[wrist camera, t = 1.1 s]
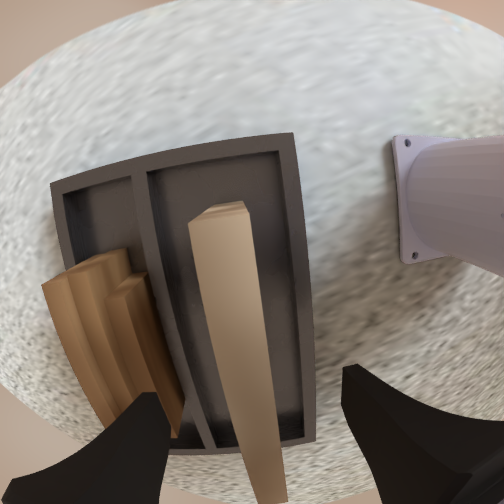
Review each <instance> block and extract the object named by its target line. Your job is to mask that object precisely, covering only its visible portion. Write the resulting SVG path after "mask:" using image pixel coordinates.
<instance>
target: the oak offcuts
mask: <svg viewBox="0 0 504 504" xmlns="http://www.w3.org/2000/svg"><path fill="white" fill-rule="evenodd" d="M41 286H42V289H43V292H44V296H45V299H46V302H47V305H48V308H49V311H50V314H51V317H52V320H53V322H54V325H55V328H56V330H57V333H58V336H59V338H60V341H61V343H62V346H63V348H64V350H65V353H66V355H67V357H68V360H69V362H70V364H71V366H72V368H73V371H74V373H75V375H76V377H77V379H78V381H79V383H80V385H81V387H82V389H83V391H84V393H85V395H86V396H87V398H88V400H89V402H90V404H91V406H92V407H93V409H94V411H95V413H96V414H97V416H98V418H99V419H100V421H101V423H102V424H103V426H104V428H105V429H106V428H107V427H108V426H109V425H111V424H112V423H113V422H114V421H115V420H116V419H117V418H118V417H119V416H120V415H121V414H122V413H123V412H124V411H125V409H126V408H127V407H128V406H129V405H130V404H131V403H132V402H133V401H134V400H135V399H136V398H137V397H138V396H139V395H140V394H141V393H142V392H157V395H158V397H159V399H160V402H161V404H162V406H163V409H164V411H165V413H166V415H167V418H168V420H169V422H170V424H171V438H178V434H179V429H180V424H181V419H182V414H183V409H184V404H185V400H186V398H185V395H184V393H183V390H182V387H181V384H180V381H179V378H178V375H177V372H176V369H175V366H174V363H173V360H172V357H171V354H170V351H169V347H168V344H167V341H166V337H165V334H164V331H163V327H162V324H161V320H160V316H159V313H158V309H157V305H156V301H155V297H154V293H153V289H152V285H151V281H150V277H149V272H148V271H147V272H140V273H133V274H132V270H131V265H130V261H129V257H128V252H127V248H123V249H117V250H111V251H109V252H107V253H104V254H99V255H94V256H92V257H91V258H89V259H87V260H85V261H83V262H81V263H79V264H77V265H76V266H74V267H72V268H70V269H68V270H67V271H65V272H63V273H61V274H59V275H58V276H56V277H54V278H52V279H51V280H49V281H47V282H45V283H44V284H42V285H41Z"/></svg>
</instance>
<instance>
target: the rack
mask: <svg viewBox="0 0 504 504" xmlns="http://www.w3.org/2000/svg"><path fill="white" fill-rule="evenodd" d="M50 188H51V196H52V203H53V210H54V216H55V222H56V228H57V233H58V238H59V243H60V247H61V252H62V256H63V261H64V265H65V269H66V271H67V270H68V269H70V268H72V267H74V266H76V265H77V264H79V263H81V262H83V261H85V260H87V259H89V258H91V257H92V256H94V255H99V254H104V253H107V252H109V251H111V250H117V249H123V248H127V252H128V257H129V261H130V265H131V270H132V274H133V273H140V272H147V271H148V272H149V277H150V281H151V285H152V289H153V293H154V297H155V301H156V305H157V309H158V313H159V316H160V320H161V324H162V327H163V331H164V334H165V337H166V341H167V344H168V347H169V351H170V354H171V357H172V360H173V363H174V366H175V369H176V372H177V375H178V378H179V381H180V384H181V387H182V390H183V393H184V395H185V398H186V400H185V404H184V409H183V414H182V419H181V424H180V429H179V434H178V438H171V440H170V449H169V454H168V455H214V454H231V453H241V450H240V447H239V444H238V440H237V437H236V434H235V430H234V427H233V423H232V420H231V416H230V413H229V409H228V405H227V402H226V398H225V394H224V390H223V387H222V383H221V379H220V375H219V371H218V367H217V363H216V359H215V355H214V350H213V346H212V342H211V338H210V333H209V329H208V324H207V320H206V315H205V311H204V306H203V301H202V297H201V292H200V287H199V282H198V277H197V272H196V266H195V261H194V256H193V250H192V245H191V239H190V233H189V227H188V223H189V222H191V221H192V220H193V219H195V218H196V217H197V216H199V215H200V214H202V213H203V212H204V211H206V210H207V209H209V208H210V207H212V206H213V205H216V204H223V203H229V202H236V201H243V202H244V204H245V206H246V208H247V210H248V212H249V215H250V222H251V229H252V237H253V244H254V251H255V258H256V266H257V273H258V280H259V287H260V295H261V302H262V309H263V317H264V324H265V331H266V339H267V346H268V354H269V361H270V368H271V376H272V383H273V391H274V398H275V406H276V413H277V421H278V428H279V436H280V443H281V448H282V447H288V446H294V445H300V444H305V443H310V442H314V441H316V386H315V353H314V331H313V313H312V298H311V284H310V271H309V260H308V249H307V238H306V228H305V219H304V210H303V201H302V193H301V185H300V177H299V170H298V162H297V155H296V148H295V141H294V135H293V132H291V133H279V134H269V135H260V136H251V137H243V138H236V139H228V140H222V141H215V142H209V143H203V144H197V145H192V146H186V147H181V148H176V149H171V150H166V151H162V152H157V153H153V154H148V155H144V156H140V157H136V158H132V159H128V160H124V161H120V162H116V163H113V164H109V165H105V166H102V167H98V168H95V169H92V170H88V171H85V172H82V173H79V174H76V175H73V176H70V177H67V178H64V179H61V180H58V181H55V182H52V183H50Z"/></svg>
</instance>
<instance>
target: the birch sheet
mask: <svg viewBox="0 0 504 504" xmlns="http://www.w3.org/2000/svg"><path fill="white" fill-rule="evenodd" d="M188 227H189V233H190V239H191V245H192V250H193V256H194V261H195V266H196V272H197V277H198V282H199V287H200V292H201V297H202V301H203V306H204V311H205V315H206V320H207V324H208V329H209V333H210V338H211V342H212V346H213V350H214V355H215V359H216V363H217V367H218V371H219V375H220V379H221V383H222V387H223V390H224V394H225V398H226V402H227V405H228V409H229V413H230V416H231V420H232V423H233V427H234V430H235V434H236V437H237V440H238V444H239V447H240V450H241V453H242V457H243V460H244V463H245V466H246V469H247V472H248V475H249V479H250V482H251V485H252V488H253V490H254V493H255V496H256V499H257V502H258V504H278V503H285V502H288V496H287V489H286V481H285V473H284V466H283V458H282V451H281V443H280V436H279V428H278V421H277V413H276V406H275V398H274V391H273V383H272V376H271V368H270V361H269V354H268V346H267V339H266V331H265V324H264V317H263V309H262V302H261V295H260V287H259V280H258V273H257V266H256V258H255V251H254V244H253V237H252V229H251V222H250V215H249V212H248V210H247V208H246V206H245V204H244V202H243V201H236V202H229V203H223V204H216V205H213V206H212V207H210V208H209V209H207V210H206V211H204V212H203V213H202V214H200V215H199V216H197V217H196V218H195V219H193V220H192V221H191V222H189V223H188Z"/></svg>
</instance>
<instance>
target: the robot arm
mask: <svg viewBox="0 0 504 504" xmlns="http://www.w3.org/2000/svg"><path fill="white" fill-rule="evenodd" d="M405 140H406V141H407V143H408V146H407V147H406V146H405V143H404V141H405ZM392 148H393V155H394V163H395V172H396V181H397V193H398V206H399V225H400V259H401V261H402V262H403V263H405V264H413V263H418V262H422V261H427V260H431V259H436V258H441V257H445V256H449V255H450V256H453V257H455V258H458V259H460V260H463V261H465V262H468V263H470V264H473V265H475V266H478V267H480V268H482V269H485V270H487V271H490V272H492V273H494V274H497V275H499V276H501V277H504V135H498V136H488V137H479V138H471V139H455V138H445V137H432V136H415V135H397V136H394V137H393V139H392ZM414 252H415V256H414V257H413V258H412V254H413V253H414ZM341 406H342V409H343V412H344V415H345V418H346V420H347V423H348V426H349V428H350V430H351V432H352V434H353V436H354V437H355V439H356V441H357V443H358V445H359V447H360V449H361V451H362V453H363V455H364V457H365V459H366V461H367V463H368V465H369V467H370V469H371V471H372V474H373V477H374V480H375V483H376V485H377V488H378V491H379V495H380V498H381V501H382V504H504V421H492V420H482V419H474V418H469V417H464V416H459V415H456V414H452V413H448V412H445V411H442V410H439V409H436V408H434V407H431V406H429V405H426V404H424V403H421V402H419V401H417V400H415V399H413V398H411V397H409V396H407V395H405V394H403V393H402V392H400V391H398V390H397V389H395V388H393V387H392V386H390V385H388V384H387V383H385V382H384V381H382V380H381V379H379V378H378V377H376V376H375V375H373V374H372V373H370V372H369V371H367V370H366V369H365V368H363V367H362V366H360V365H359V364H354V365H350V366H346V367H343V374H342V395H341ZM170 440H171V424H170V422H169V420H168V418H167V415H166V413H165V411H164V409H163V406H162V404H161V402H160V399H159V397H158V395H157V392H142V393H141V394H140V395H139V396H138V397H137V398H136V399H135V400H134V401H133V402H132V403H131V404H130V405H129V406H128V407H127V408H126V409H125V411H124V412H123V413H122V414H121V415H120V416H119V417H118V418H117V419H116V420H115V421H114V422H113V423H112V424H111V425H109V426H108V427H107V428H106V429H105V430H104V431H103V432H102V433H101V434H100V435H98V436H97V437H96V438H95V439H94V440H93V441H91V442H90V443H89V444H87V445H86V446H85V447H83V448H82V449H81V450H79V451H78V452H76V453H74V454H73V455H71V456H69V457H68V458H66V459H64V460H62V461H61V462H59V463H57V464H55V465H53V466H51V467H48V468H46V469H44V470H41V471H39V472H36V473H33V474H30V475H26V476H22V477H18V478H14V479H12V480H11V482H10V484H9V486H8V487H7V489H6V492H5V493H4V495H3V497H2V499H1V500H2V502H3V504H159V496H160V490H161V485H162V480H163V476H164V472H165V467H166V463H167V458H168V454H169V449H170Z"/></svg>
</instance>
